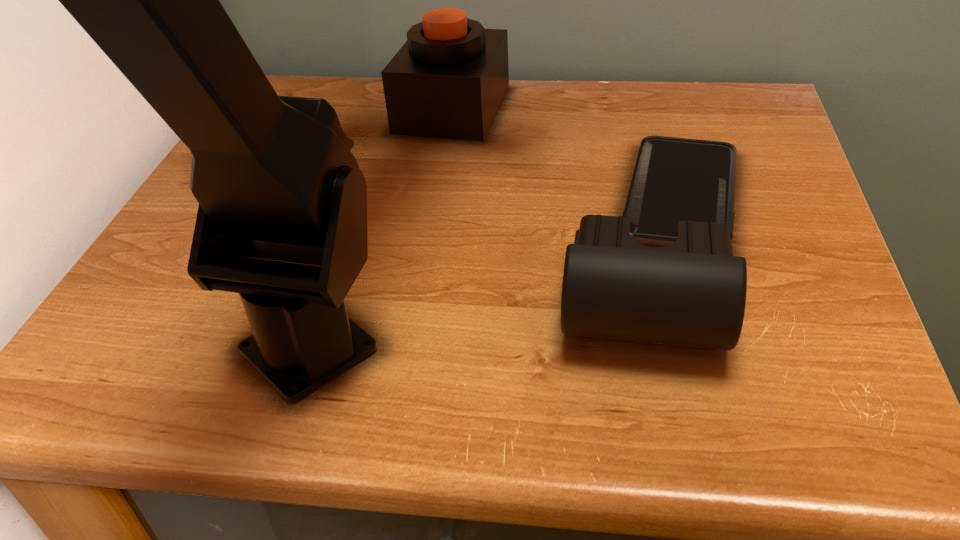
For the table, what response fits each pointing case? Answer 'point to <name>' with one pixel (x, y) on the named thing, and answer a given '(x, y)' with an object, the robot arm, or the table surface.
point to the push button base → (447, 84)
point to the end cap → (654, 286)
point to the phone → (680, 187)
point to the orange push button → (445, 24)
